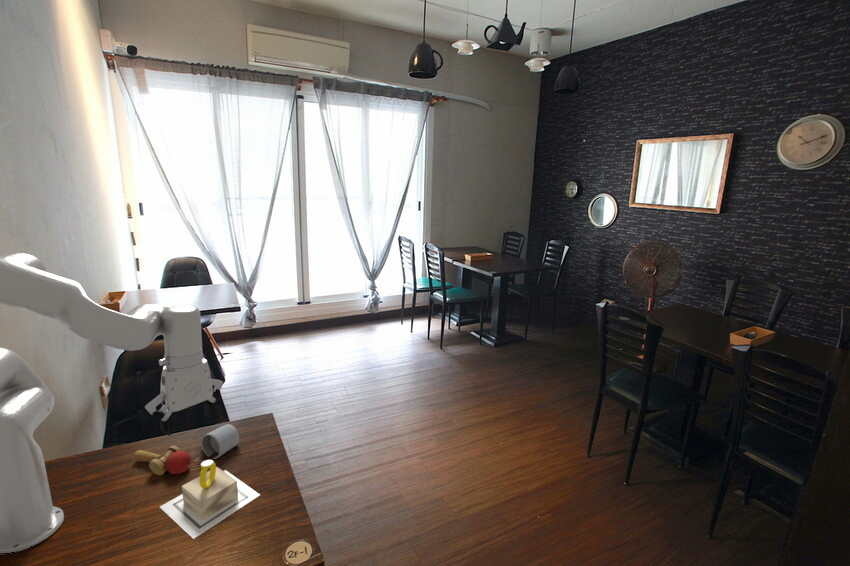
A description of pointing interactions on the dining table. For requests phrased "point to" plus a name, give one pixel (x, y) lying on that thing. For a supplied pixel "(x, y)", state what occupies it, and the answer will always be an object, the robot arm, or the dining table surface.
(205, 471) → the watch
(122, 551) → the dining table surface
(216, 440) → the grey hollow cylinder
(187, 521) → the mat
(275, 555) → the dining table surface
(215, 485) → the birch block
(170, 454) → the kendama
